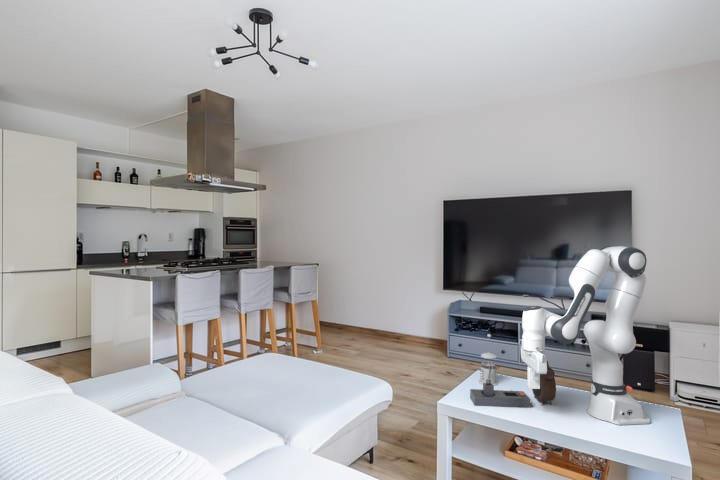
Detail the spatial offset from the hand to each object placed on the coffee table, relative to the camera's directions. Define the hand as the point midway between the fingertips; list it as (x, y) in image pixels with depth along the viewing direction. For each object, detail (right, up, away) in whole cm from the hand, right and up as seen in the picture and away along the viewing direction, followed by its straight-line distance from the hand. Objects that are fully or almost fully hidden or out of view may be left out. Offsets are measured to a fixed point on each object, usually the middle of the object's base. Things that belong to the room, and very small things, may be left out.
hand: (533, 378), depth 171 cm
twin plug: (-15, -15, +13) cm, 25 cm away
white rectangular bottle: (0, -4, 0) cm, 4 cm away
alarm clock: (+10, -16, +14) cm, 24 cm away
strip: (-10, -15, +12) cm, 22 cm away
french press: (-7, -16, +38) cm, 41 cm away
